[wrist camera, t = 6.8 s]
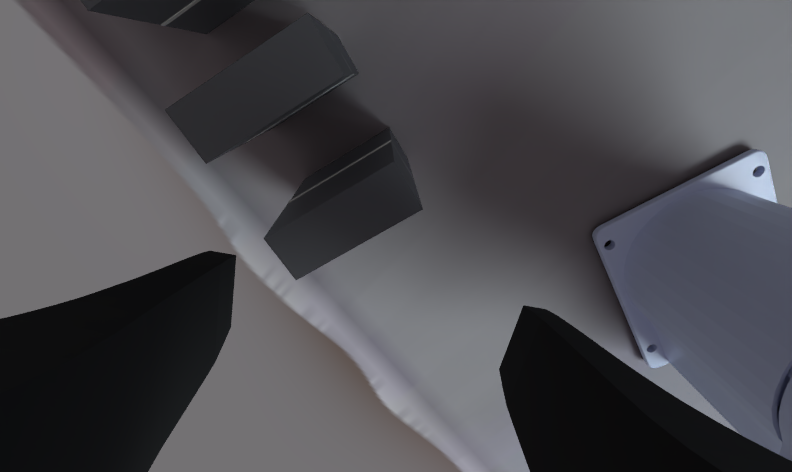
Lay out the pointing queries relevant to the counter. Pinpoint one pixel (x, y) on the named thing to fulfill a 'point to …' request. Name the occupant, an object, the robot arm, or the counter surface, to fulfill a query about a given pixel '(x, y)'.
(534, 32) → the counter surface
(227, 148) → the domino
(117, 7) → the domino
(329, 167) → the domino
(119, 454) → the robot arm
